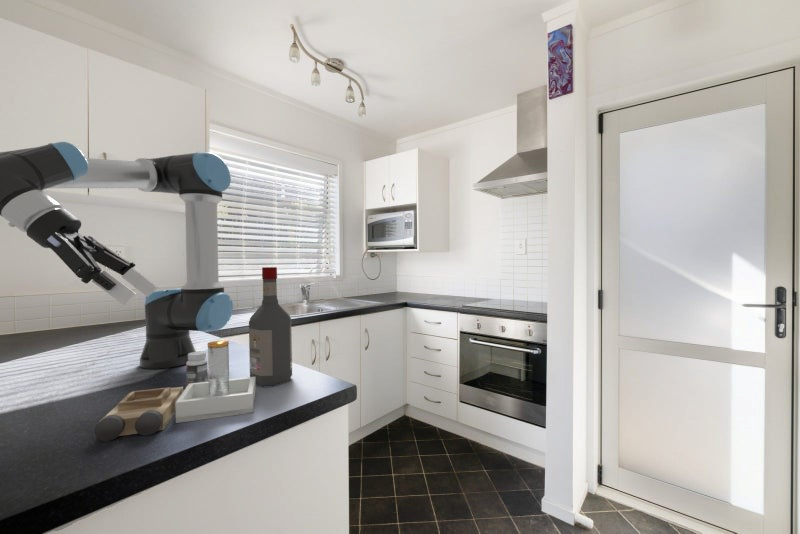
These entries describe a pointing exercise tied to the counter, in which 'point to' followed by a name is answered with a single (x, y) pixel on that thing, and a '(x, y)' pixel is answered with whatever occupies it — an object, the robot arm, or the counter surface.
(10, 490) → the counter surface
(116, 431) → the trolley block
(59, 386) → the counter surface
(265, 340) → the liquor
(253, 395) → the tray
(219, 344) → the gold capped bottle
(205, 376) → the pill bottle
